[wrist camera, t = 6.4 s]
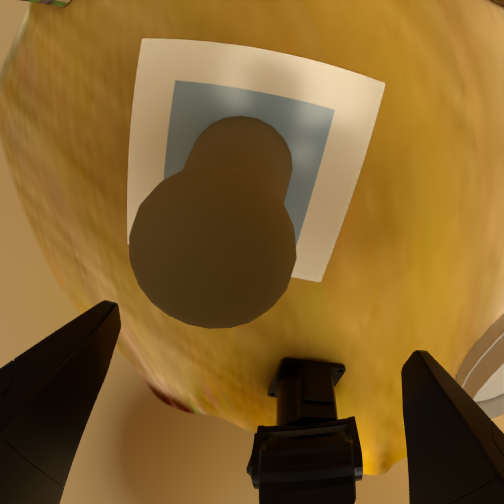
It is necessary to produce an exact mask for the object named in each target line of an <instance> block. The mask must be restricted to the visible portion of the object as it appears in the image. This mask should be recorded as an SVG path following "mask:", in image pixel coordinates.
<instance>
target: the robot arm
mask: <svg viewBox="0 0 504 504" xmlns="http://www.w3.org/2000/svg"><path fill="white" fill-rule="evenodd" d="M120 329H121V320H120V313H119V307H118V304H117V303H115V302H111V301H107V300H104V301H102V302H100V303H99V304H97V305H95V306H94V307H92V308H91V309H89V310H88V311H86V312H84V313H83V314H81V315H80V316H78V317H77V318H75V319H74V320H72V321H71V322H69V323H67V324H66V325H64V326H63V327H61V328H60V329H58V330H57V331H55V332H54V333H52V334H51V335H49V336H48V337H46V338H45V339H43V340H42V341H40V342H39V343H37V344H36V345H34V346H33V347H31V348H30V349H28V350H27V351H25V352H24V353H22V354H21V355H19V356H18V357H16V358H15V359H14V361H13V360H12V361H10V362H9V363H7V364H6V365H5V366H3V367H2V368H0V504H59V503H60V500H61V497H62V493H63V490H64V486H65V483H66V480H67V477H68V474H69V471H70V468H71V465H72V462H73V459H74V457H75V454H76V451H77V448H78V445H79V443H80V440H81V437H82V434H83V432H84V429H85V427H86V424H87V421H88V419H89V416H90V414H91V411H92V409H93V406H94V403H95V401H96V399H97V396H98V393H99V391H100V389H101V386H102V384H103V382H104V379H105V377H106V374H107V371H108V368H109V365H110V361H111V358H112V354H113V352H114V348H115V345H116V342H117V339H118V336H119V333H120ZM345 371H346V370H345V366H344V365H338V364H328V363H319V362H310V361H302V360H294V359H283V360H282V361H281V363H280V365H279V367H278V370H277V372H276V374H275V376H274V379H273V381H272V383H271V385H270V387H269V390H268V396H270V397H277V422H276V426H258V429H257V433H255V435H254V444H253V449H252V454H251V457H250V460H249V463H248V466H247V473H248V474H249V475H250V476H251V479H252V483H253V486H254V488H255V489H259V504H354V503H355V500H356V487H355V481H359V480H362V475H363V461H362V451H361V446H360V441H359V436H358V431H357V426H356V421H355V417H354V416H353V417H348V418H346V419H339V420H338V416H337V407H336V399H335V391H334V387H335V385H336V384H337V383H338V381H339V380H340V378H341V377H342V375H343V374H344V372H345ZM401 376H402V397H403V417H404V427H405V436H406V446H407V458H408V473H409V498H410V499H409V500H410V504H504V433H503V432H502V431H501V430H500V429H499V428H498V427H497V426H496V425H495V423H494V422H493V421H491V419H490V418H489V417H488V416H487V414H486V413H485V412H484V411H483V410H482V409H481V408H480V407H479V406H478V404H477V403H476V402H475V401H474V400H473V399H472V398H471V397H470V396H469V395H468V394H467V393H466V391H465V390H464V389H463V388H462V387H461V386H460V385H459V384H458V383H457V382H456V381H455V380H454V379H453V378H452V377H451V376H450V374H449V373H448V372H447V371H446V370H445V369H444V368H443V367H442V366H441V365H440V364H439V363H438V362H437V361H436V360H435V359H434V358H433V357H432V356H431V355H430V354H429V353H428V352H427V351H424V350H416V351H414V352H413V353H412V355H411V356H410V357H409V359H408V360H407V361H406V363H405V364H404V365H403V367H402V372H401Z"/></svg>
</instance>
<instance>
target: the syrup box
mask: <svg viewBox="0 0 504 504" xmlns="http://www.w3.org/2000/svg"><path fill="white" fill-rule="evenodd" d="M22 1H29V2H36V3H42V4H49V5H54V6H59V7H64V6H66V5H67V4H68V3H69V2H70V1H71V0H22Z"/></svg>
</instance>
